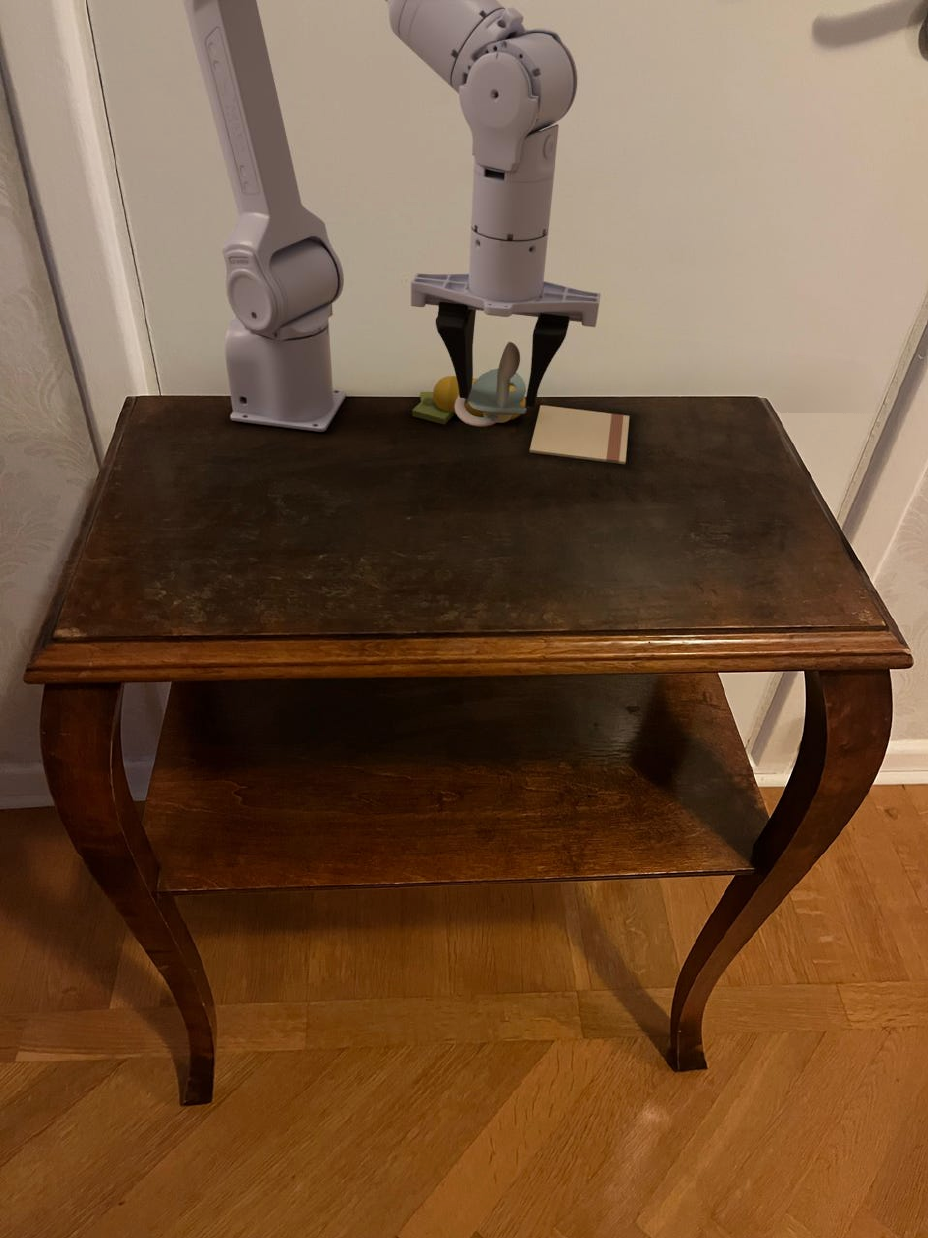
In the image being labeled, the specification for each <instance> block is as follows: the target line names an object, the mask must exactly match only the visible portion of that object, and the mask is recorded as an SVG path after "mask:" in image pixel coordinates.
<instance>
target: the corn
mask: <svg viewBox="0 0 928 1238" xmlns="http://www.w3.org/2000/svg"><path fill="white" fill-rule="evenodd" d="M477 379H478V378H473V380H472V385H473V384H474V382H475V381H476V380H477ZM515 389H516V388H515V387H514V386H510V388H509V391H514V390H515ZM458 396H459V388H458V382H457V378H456V375H447V376H445V377H442V378H441V379H439V380H438V381H437V382H436V384H435V386H434V388H433V390H432V391H420V394H419V400H420V402H419V403H418V404H417V405H416V406H415V407H414V408H413V409H412V410H411V417H414V418H418V419H422V420H425V421H429V422H433V423H436V424H440V425H444V426H445V425H446V424H448V422H449V421H450V420H451V419H452V418H453V417H454V415H457V414H456V412H455V402H456V399H457V398H458ZM519 405H522V406H523V407H525V408H526V395H525V396H524V399H523V401H522V402H521V403H520V404H519ZM465 409H466V410H467V411H468V412H469V413H470V414H471V415H474V416H476V417H484V415H483V411H480V410H477V409H474V408H473V407H471V406H470V404H469V401H468V402H467V403H466V404H465ZM520 416H521V414H517V415H512V416H511V418H510V420H509V421H512V420H515V419H517V418H518V417H520Z"/></svg>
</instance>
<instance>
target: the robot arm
mask: <svg viewBox="0 0 928 1238" xmlns="http://www.w3.org/2000/svg"><path fill="white" fill-rule="evenodd" d="M384 1H385V2H386V3H387V8H388V9H387V10H388V18H389V25H390V28H391V31H392V32H393V34H394V35H395V36H396V37H397V38H398V39H399V40H400V41H402V43H404V45H405V46H407V47H408V48H409V49H410V50H411V51H412V52H413V53H414V54H415V55H416V56H417V57H418V58H419V59H420V60H422V61H423V62H424V63H425V64H426V65H427V66H428V67H429V68H430V69H431V70H432V71H433V72H435V74H436V75H438V76H439V77H440V78H441V79H442V80H444V82H445V83H446V84H448V86H450V87H451V88H452V89H453V91H455V92H456V93H457V94H458V98H459V104H460V108H461V113H462V114H463V117H464V119H465V121H466V123H467V125H468V127H469V129H470V133H471V137H472V138H471V139H472V144H471V145H472V146H471V147H472V148H471V155H472V156H473V177H472V181H473V182H472V199H471V201H472V202H471V219H470V220H471V223H470V240H469V241H470V243H469V244H470V245H469V264H468V265H469V267H468V268H469V269H468V273H441V274H439V273H420V272H417V273H415V275H414V276H413V278H412V280H411V281H410V306H411V307H416V308H424V307H426V305H429V306H437V307H438V311H437V316H436V318H435V327H436V331H437V333H438V335H439V337H440V338H441V340H442V342H443V344H444V346H445V348H446V350H447V353H448V355H449V357H450V360H451V363H452V367H453V369H454V370H453V371H454V373H455V376H456V378H457V382H458V388H459V397H460V398H465V399H468V396H469V394H470V391H471V389H472V380H473V379H474V361H473V360H474V358H473V357H474V355H473V349H474V347H473V346H474V336H475V335H474V334H475V324H476V323H475V322H476V314H477V311H482V312H484V314H485V315H487V316H494V317H501V318H502V317H503V318H509V317H511V316H512V315H517V316H523V317H532V318H533V317H534V318H537V320H536V323H535V325H534V328H533V331H532V342H531V343H532V345H531V346H532V347H531V364H530V374H529V380H528V384H527V390H526V394H525V400H526V402H525V407H529V408H534V407H535V405H536V402H537V398H538V392H539V388H540V385H541V383H542V380H543V378H544V376H545V374H546V371H547V369H548V368H549V366H550V364H551V362H552V360H553V359H554V357H555V356H556V354H557V352H558V351H559V349H560V348H561V347H562V344H563V343H564V342H565V339H566V337H567V334H568V330H569V326H570V322H577V323H581V325H582V326H584V327H591V328H596V326H597V321H598V315H599V309H600V303H601V302H600V301H601V293H600V292H592V291H586V290H581V289H577V288H573V287H569V286H565V285H561V284H557V283H554V282H549V281H545V272H546V271H545V270H546V261H547V250H548V242H549V241H548V239H549V230H550V220H551V219H550V218H551V211H552V201H553V190H554V180H555V169H556V157H557V147H558V137H559V127H560V126H559V124H558V122H559V121H560V120H562V119H563V118H564V117H565V116H566V115H567V113H568V112H569V111H570V109H571V108H572V106H573V104H574V101H575V98H576V96H577V89H578V70H577V66H576V62H575V59H574V57H573V55H572V52H571V51H570V49H569V48H568V47H567V45H566V44H565V43H564V42H563V40H562V38H561V37H560V35H559V34H558V33H557V31H554V30H551V29H547V28H541V27H540V28H533V29H527V28H525V26H524V24H523V22H524V15H522V13H521V12H519V11H518V10H517V9H516V8H515V7H508V8H506V7H504V6H503V5H502V4H501V3H500V2H499V1H498V0H384ZM182 2H183V6H184V10H185V13H186V17H187V21H188V25H189V29H190V33H191V36H192V40H193V41H192V42H193V43H194V48H195V52H196V56H197V60H198V64H199V68H200V72H201V75H202V79H203V83H204V86H205V90H206V94H207V99H208V103H209V105H210V106H209V107H210V109H211V110H210V111H211V113H212V117H213V122H214V125H215V128H216V133H217V136H218V140H219V144H220V147H221V152H222V156H223V160H224V163H225V168H226V171H227V175H228V179H229V183H230V187H231V189H232V194H233V199H234V202H235V205H236V210H237V213H238V216H237V220H236V222H235V224H234V225H233V227H232V229H231V231H230V233H229V235H228V236H227V238H226V240H225V242H224V244H223V246H222V250H221V252H222V255H223V258H224V262H225V269H226V278H225V279H226V280H225V291H226V297H227V300H228V304H229V306H230V308H231V310H232V312H233V314H234V315H235V316H234V317H233V318H232V319H231V321H230V322H229V325H228V327H227V330H226V334H225V342H224V358H225V365H226V372H227V378H228V388H229V393H230V401H231V407H232V408H231V409H232V412H231V414H230V415H229V416H230V420H231V421H232V422H239V423H247V424H255V425H262V426H270V427H279V428H286V429H294V430H302V431H308V432H309V431H310V432H317V433H323V432H325V431H327V429H328V427H329V426H330V424H331V422H332V421H333V419H334V418H335V415H336V414H337V413H338V411H339V409H340V407H341V406H342V404H343V403H344V400H345V399H346V397H347V392H346V390H343V389H335V388H334V387H333V386H334V385H333V370H332V354H331V353H332V351H331V339H330V323H329V322H330V321H329V319H330V318H331V317H332V316H333V315H334V313H333V303H335V302H336V301H337V300H338V299H339V298H340V296H341V295H342V293H343V290H344V283H345V282H344V281H345V278H344V271H343V266H342V263H341V261H340V258H339V256H338V254H337V253H336V251H335V250H334V248H333V246H332V243H331V242H330V239H329V236H328V232H327V227H326V223H325V221H324V220H322V219H321V218H320V217H319V216H317V215H316V214H314V213H313V212H311V211H310V210H309V209H308V208H306V207H305V206H304V205H303V204H302V199H301V195H300V190H299V185H298V181H297V177H296V172H295V168H294V163H293V159H292V154H291V150H290V146H289V141H288V137H287V132H286V128H285V123H284V118H283V114H282V110H281V105H280V101H279V96H278V91H277V87H276V83H275V82H276V81H275V78H274V74H273V69H272V64H271V61H270V56H269V51H268V47H267V42H266V38H265V37H266V36H265V33H264V29H263V25H262V20H261V19H262V18H261V15H260V10H259V6H258V2H257V0H182Z"/></svg>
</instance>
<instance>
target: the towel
mask: <svg viewBox="0 0 928 1238" xmlns="http://www.w3.org/2000/svg"><path fill="white" fill-rule="evenodd" d="M629 426H630V415H625V414H619V413H608V412H601V411H593V410H586V409H585V410H584V409H575V408H568V407H560V406H559V407H558V406H551V405H542V404H541V405H540V406H539V410H538V414H537V418H536V422H535V427H534V431H533V435H532V438H531V443H530V447H529V453H531V454H533V453H534V454H540V455H547V456H548V455H549V456H554V457H555V456H557V457H564V458H571V459H578V460H579V459H580V460H588V461H596V462H603V463H612V464H619V465H626V463H627V450H628V440H629Z"/></svg>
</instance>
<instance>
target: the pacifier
mask: <svg viewBox="0 0 928 1238" xmlns="http://www.w3.org/2000/svg"><path fill="white" fill-rule="evenodd" d="M520 364H521V354H520V350H519V348H518V346H517V345H516V344H515V343H513V342H512V341H508V342H507V343H506V345H505V347H504V349H503V352H502V355H501V357H500V360H499V365H498V368H494V369H490V370H488V371H486V372H484V373H482V374H481V375H480V376H479V377H478V378H476V379H477V380H476V381H475V382H474V384H473V385H472V389H471V391H470V394H469V396H468V399H465V398H460V397H459V396H458V398H457V399H456V402H455V412H456V414H455V415H457V417H458V418H459V419H460V421H462V422H463V423H465V424H467V425H469V426H472V427H479V428H480V427H481V428H482V427H488V426H492V425H494V424H496V423H498V424H500V423H501V424H502V423H503V424H504V423H506V422H508V421H511V420H510V418H511V416H512V415H517V414H520V415H524V414H526V413H527V408H526V406H525V407H523V406H522V405H519V404H520V403H521V402H522V401H523V399H524V396H525V397H526V393H527V390H526V389H527V388H526V384H525V381H524V380H523V378H522V376H520V374H518V373H517V372H518V369H519V367H520ZM510 386H514V387H515V388H516V389H515V390H514V391H509V388H510ZM468 401H469V404H470V406H471V407H473V408H474V409H477V410H480V411H483V415H484V417H476V416H474V415H471V414H470V413H469V412H468V411H467V410H466V409H465V404H466V403H467V402H468Z"/></svg>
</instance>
